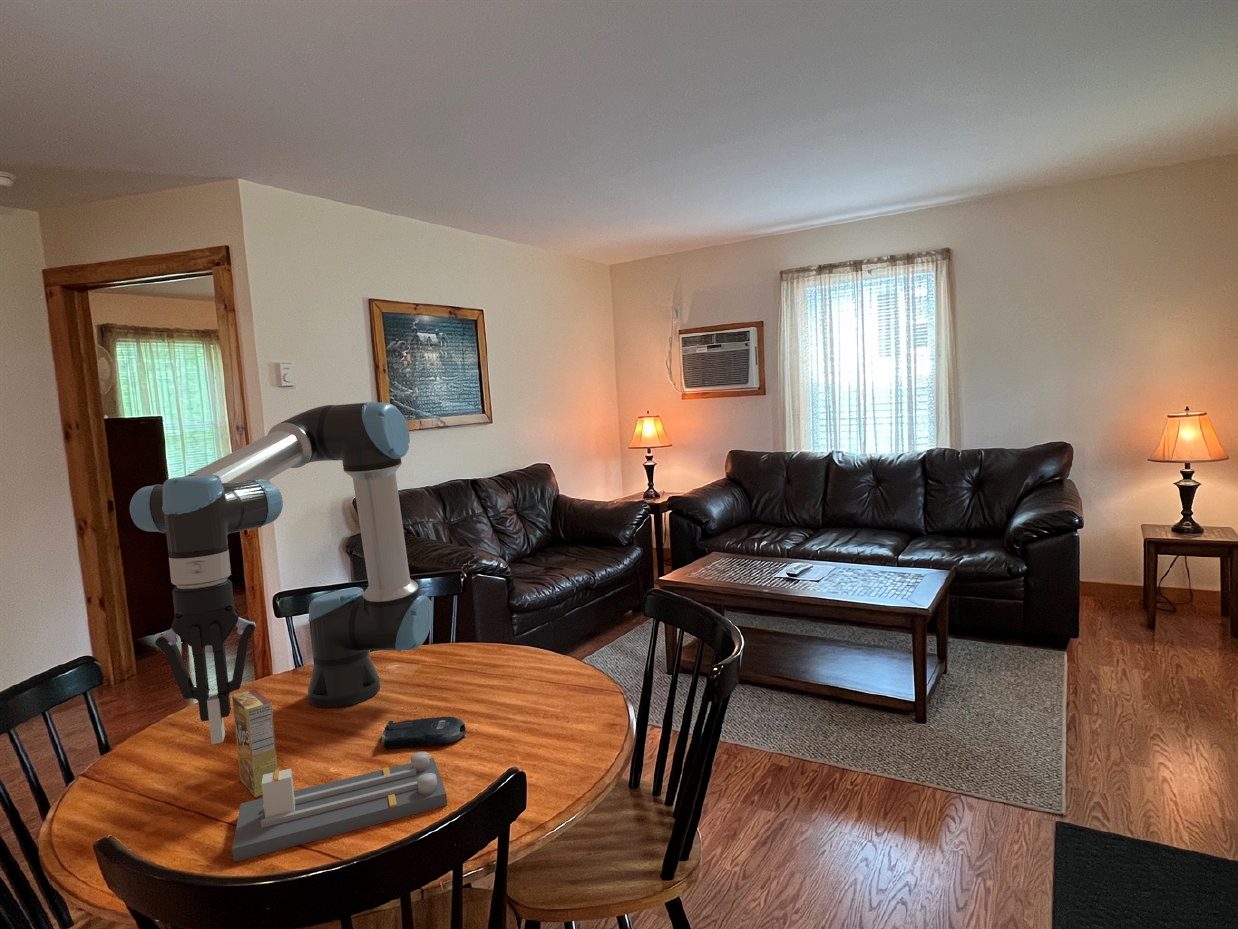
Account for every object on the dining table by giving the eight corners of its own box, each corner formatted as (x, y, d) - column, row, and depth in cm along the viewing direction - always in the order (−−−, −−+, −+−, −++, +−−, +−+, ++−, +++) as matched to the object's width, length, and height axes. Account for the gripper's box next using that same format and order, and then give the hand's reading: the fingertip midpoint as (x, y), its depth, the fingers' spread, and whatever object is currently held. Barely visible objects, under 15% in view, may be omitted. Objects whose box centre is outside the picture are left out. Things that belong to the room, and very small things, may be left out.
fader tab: (266, 811, 111) (262, 772, 111) (295, 804, 113) (291, 766, 112) (265, 822, 108) (261, 782, 108) (294, 815, 110) (290, 775, 109)
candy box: (239, 780, 126) (229, 695, 124) (264, 771, 128) (256, 687, 127) (255, 799, 119) (245, 709, 118) (281, 788, 122) (272, 701, 121)
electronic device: (383, 763, 132) (464, 743, 134) (377, 734, 132) (458, 714, 134) (393, 746, 142) (469, 727, 143) (388, 718, 142) (464, 700, 143)
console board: (242, 815, 114) (239, 791, 114) (434, 768, 126) (432, 746, 125) (233, 862, 102) (230, 835, 102) (447, 805, 114) (445, 781, 114)
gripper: (143, 594, 98) (161, 761, 100) (250, 581, 103) (265, 739, 105) (154, 583, 105) (171, 739, 107) (254, 571, 110) (268, 720, 112)
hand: (218, 739), depth 106 cm, fingers closed
